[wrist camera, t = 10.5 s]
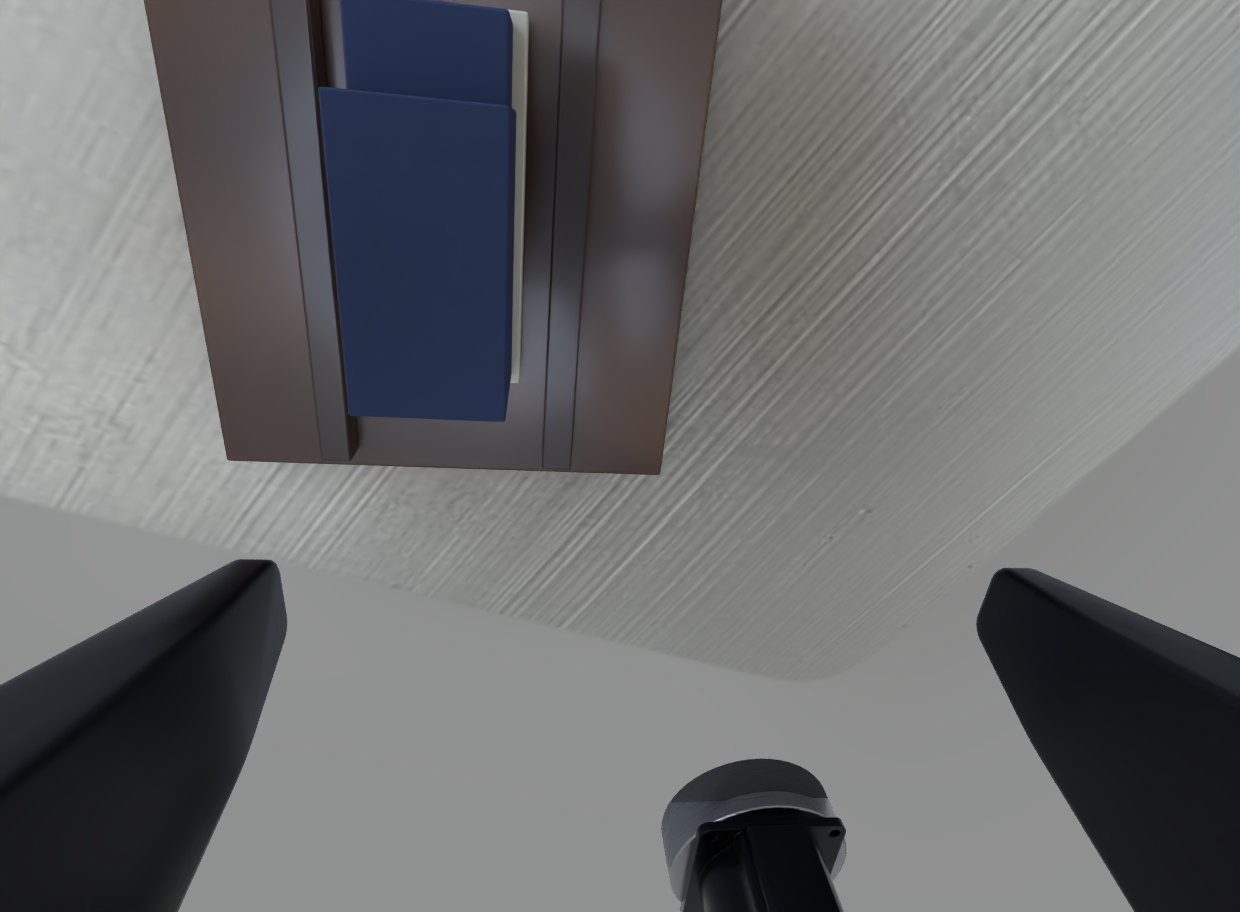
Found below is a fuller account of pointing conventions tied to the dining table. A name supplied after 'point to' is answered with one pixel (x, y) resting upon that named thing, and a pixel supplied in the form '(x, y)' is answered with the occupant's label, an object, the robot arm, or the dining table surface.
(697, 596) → the dining table surface
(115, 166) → the dining table surface
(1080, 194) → the dining table surface
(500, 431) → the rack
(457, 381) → the stepped navy block
